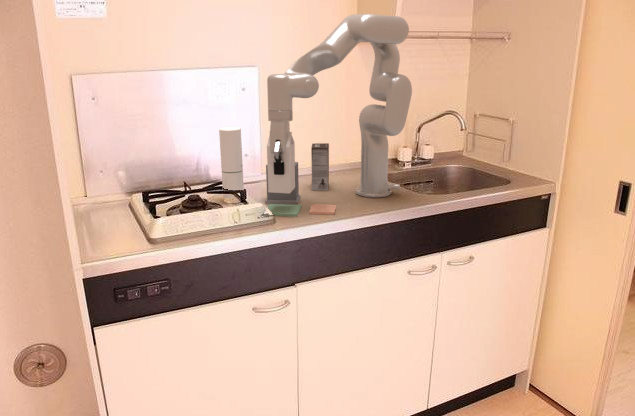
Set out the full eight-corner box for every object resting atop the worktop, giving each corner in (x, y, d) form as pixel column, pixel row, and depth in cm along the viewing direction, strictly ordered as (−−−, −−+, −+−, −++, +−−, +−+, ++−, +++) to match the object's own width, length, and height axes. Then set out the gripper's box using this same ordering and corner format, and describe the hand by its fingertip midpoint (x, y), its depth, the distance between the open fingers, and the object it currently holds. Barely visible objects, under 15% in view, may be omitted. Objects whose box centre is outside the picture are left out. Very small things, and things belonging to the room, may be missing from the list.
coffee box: (312, 184, 206) (311, 143, 201) (328, 184, 206) (328, 143, 201) (311, 190, 197) (311, 147, 192) (328, 190, 197) (328, 147, 192)
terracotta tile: (336, 207, 178) (336, 204, 177) (334, 214, 170) (334, 212, 170) (312, 206, 179) (312, 204, 178) (309, 214, 171) (309, 211, 171)
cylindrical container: (246, 197, 188) (242, 127, 181) (241, 203, 182) (237, 130, 174) (226, 197, 189) (222, 127, 182) (221, 203, 182) (216, 130, 175)
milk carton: (289, 194, 168) (288, 133, 162) (268, 192, 169) (266, 133, 163) (295, 188, 174) (294, 130, 169) (274, 187, 176) (272, 129, 170)
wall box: (300, 197, 189) (300, 161, 185) (297, 204, 181) (296, 166, 177) (269, 196, 190) (268, 160, 186) (265, 203, 182) (263, 166, 178)
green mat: (301, 207, 178) (301, 204, 178) (297, 216, 169) (297, 214, 168) (269, 206, 179) (269, 203, 179) (262, 215, 170) (262, 213, 169)
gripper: (273, 111, 173) (275, 165, 178) (262, 119, 157) (264, 178, 162) (296, 112, 172) (297, 165, 178) (287, 119, 156) (288, 178, 161)
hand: (281, 171), depth 170 cm, fingers closed on milk carton, 7 cm apart
